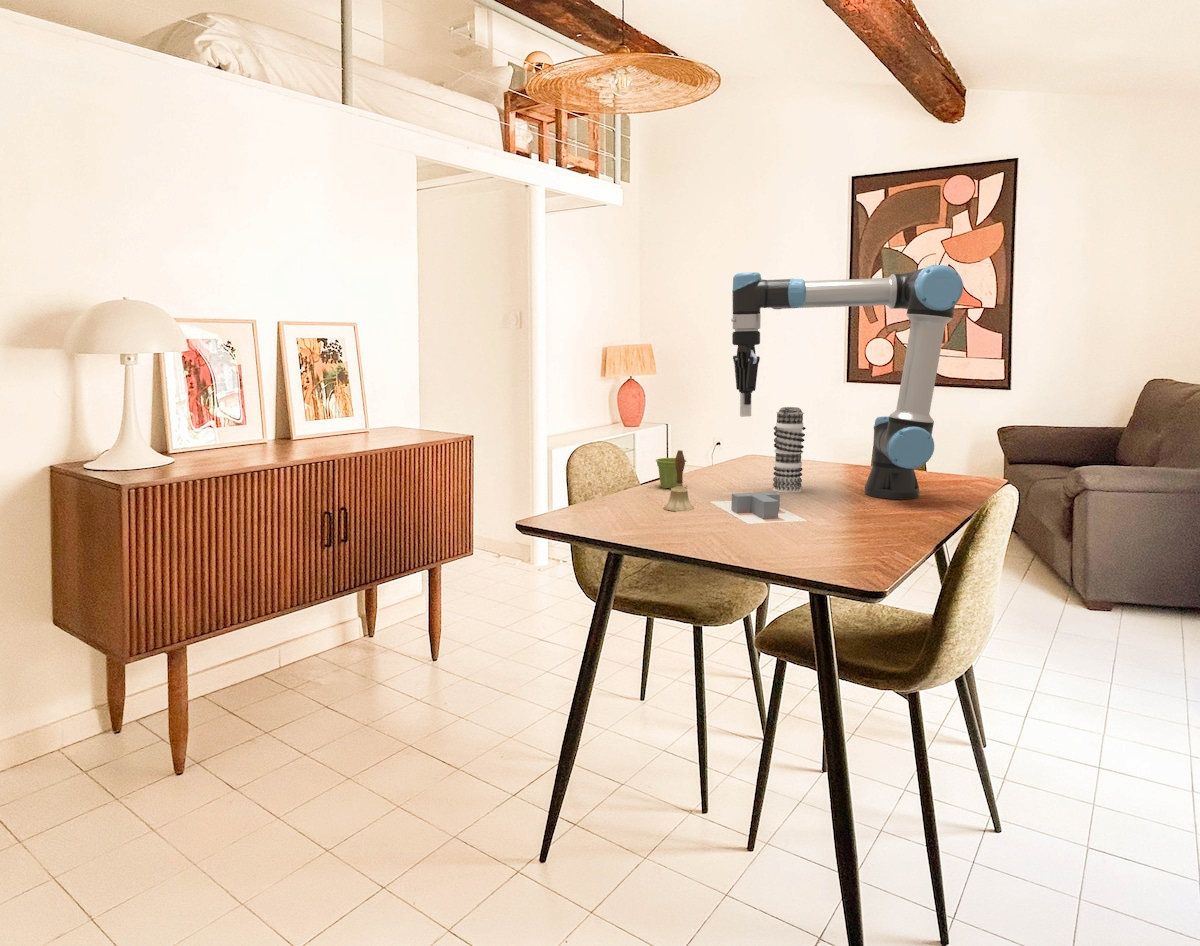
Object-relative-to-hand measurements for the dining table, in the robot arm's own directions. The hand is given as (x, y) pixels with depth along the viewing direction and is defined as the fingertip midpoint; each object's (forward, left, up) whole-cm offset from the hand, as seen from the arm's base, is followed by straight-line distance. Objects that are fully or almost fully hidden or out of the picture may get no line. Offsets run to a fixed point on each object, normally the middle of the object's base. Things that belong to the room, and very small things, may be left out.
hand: (745, 416), depth 232 cm
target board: (+2, +14, -24) cm, 28 cm away
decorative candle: (-19, -12, -24) cm, 33 cm away
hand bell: (+21, +6, -24) cm, 33 cm away
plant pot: (+14, -24, -24) cm, 37 cm away
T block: (+2, +18, -24) cm, 30 cm away
